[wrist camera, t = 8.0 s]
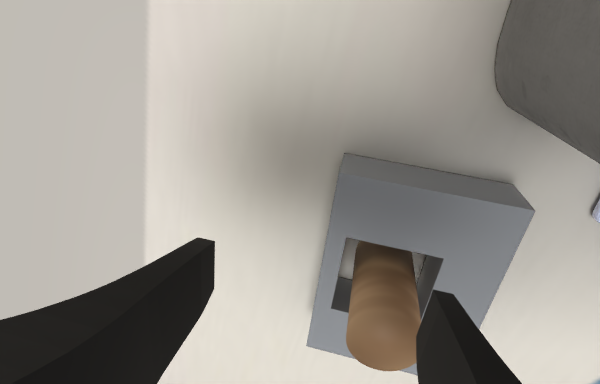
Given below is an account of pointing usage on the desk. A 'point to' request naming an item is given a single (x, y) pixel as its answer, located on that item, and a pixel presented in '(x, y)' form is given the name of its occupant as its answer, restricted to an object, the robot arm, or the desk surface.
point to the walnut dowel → (383, 308)
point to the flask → (554, 68)
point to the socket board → (419, 237)
